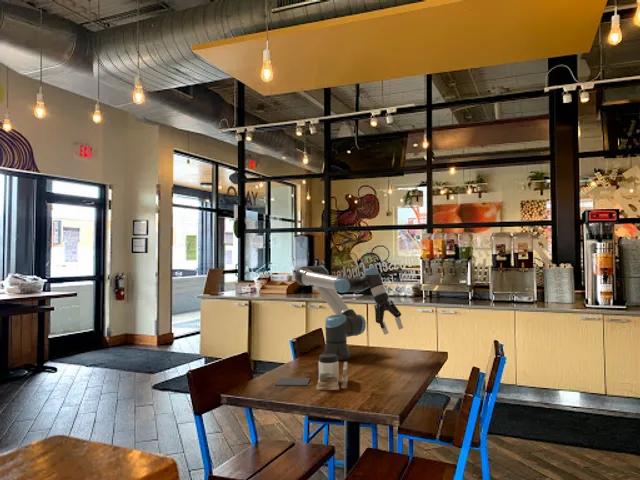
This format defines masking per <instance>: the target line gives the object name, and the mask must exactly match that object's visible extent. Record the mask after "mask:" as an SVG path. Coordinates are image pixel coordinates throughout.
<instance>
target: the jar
mask: <svg viewBox="0 0 640 480" xmlns="http://www.w3.org/2000/svg"><path fill="white" fill-rule="evenodd" d="M318 357H319V361H318V380H320V373H321V372H332V375H333V376H337V380H338V384H339V383H340V376H339V375H340V372H339V371H340V369H339V368H340V367H339V366H340V365H339V360H338V357H337V355H336V354H323V353H321V354H320V355H319V356H318Z"/></svg>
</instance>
